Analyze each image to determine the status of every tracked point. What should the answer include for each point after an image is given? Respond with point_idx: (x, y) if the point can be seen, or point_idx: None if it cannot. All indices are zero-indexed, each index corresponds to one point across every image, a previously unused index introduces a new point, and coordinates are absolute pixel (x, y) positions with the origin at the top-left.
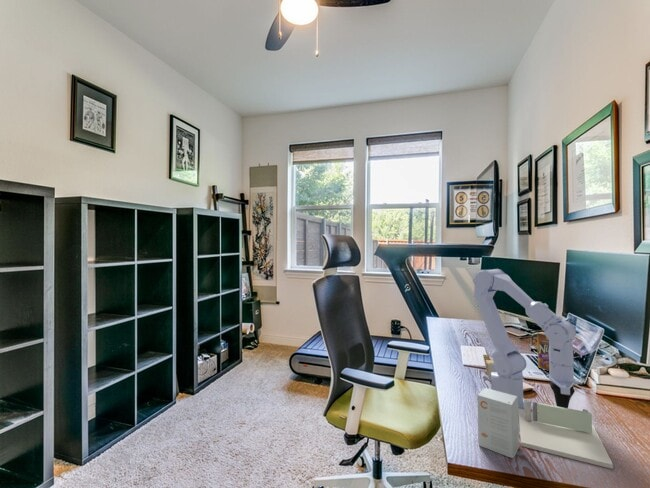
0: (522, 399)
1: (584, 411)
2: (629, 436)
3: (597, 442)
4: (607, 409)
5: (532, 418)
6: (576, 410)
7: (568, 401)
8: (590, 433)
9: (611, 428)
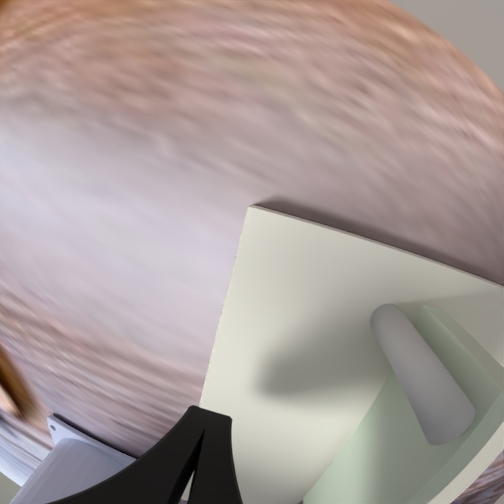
0: (101, 472)
1: (458, 431)
2: (330, 23)
3: (498, 311)
4: (23, 41)
5: (270, 496)
6: (436, 481)
7: (238, 498)
8: (418, 305)
9: (239, 73)
